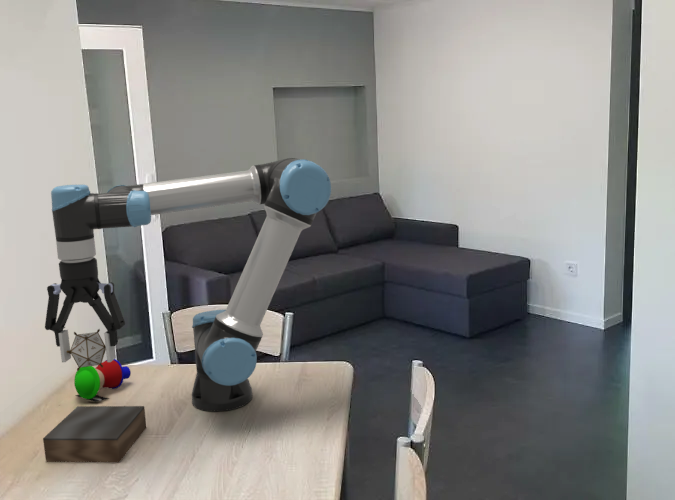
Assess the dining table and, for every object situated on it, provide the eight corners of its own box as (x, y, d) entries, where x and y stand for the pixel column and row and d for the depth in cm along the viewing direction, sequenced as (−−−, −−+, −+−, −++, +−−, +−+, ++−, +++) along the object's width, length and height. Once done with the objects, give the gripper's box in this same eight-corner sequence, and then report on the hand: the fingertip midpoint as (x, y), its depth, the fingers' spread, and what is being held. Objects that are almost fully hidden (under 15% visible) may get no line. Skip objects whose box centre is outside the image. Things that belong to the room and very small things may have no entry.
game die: (96, 385, 146) (91, 359, 139) (61, 371, 147) (54, 344, 140) (119, 354, 152) (115, 328, 145) (86, 340, 153) (80, 313, 146)
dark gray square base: (146, 427, 157) (144, 406, 156) (119, 462, 141) (116, 438, 140) (80, 427, 158) (77, 406, 157) (46, 462, 143) (42, 438, 142)
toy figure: (110, 390, 187) (66, 402, 173) (108, 356, 187) (64, 365, 173) (134, 392, 182) (91, 404, 169) (133, 357, 182) (89, 366, 169)
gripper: (135, 254, 145) (144, 353, 149) (36, 256, 147) (48, 354, 151) (121, 261, 137) (131, 366, 142) (17, 263, 139) (31, 366, 144)
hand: (89, 360), depth 146 cm, fingers closed on game die, 9 cm apart
